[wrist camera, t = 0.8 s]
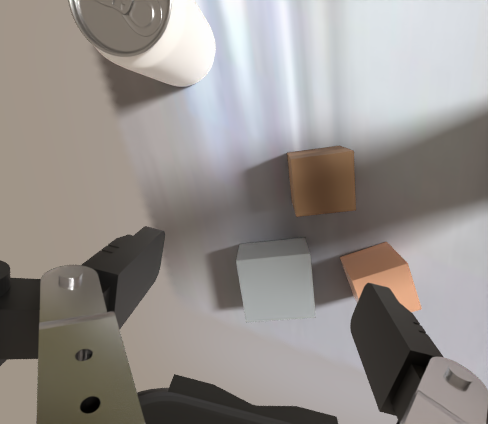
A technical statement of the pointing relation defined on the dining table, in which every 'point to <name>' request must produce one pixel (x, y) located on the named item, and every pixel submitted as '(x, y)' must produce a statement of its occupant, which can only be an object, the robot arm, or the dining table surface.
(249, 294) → the base block
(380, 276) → the terracotta cube
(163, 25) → the can
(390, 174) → the dining table surface
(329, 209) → the walnut cube
